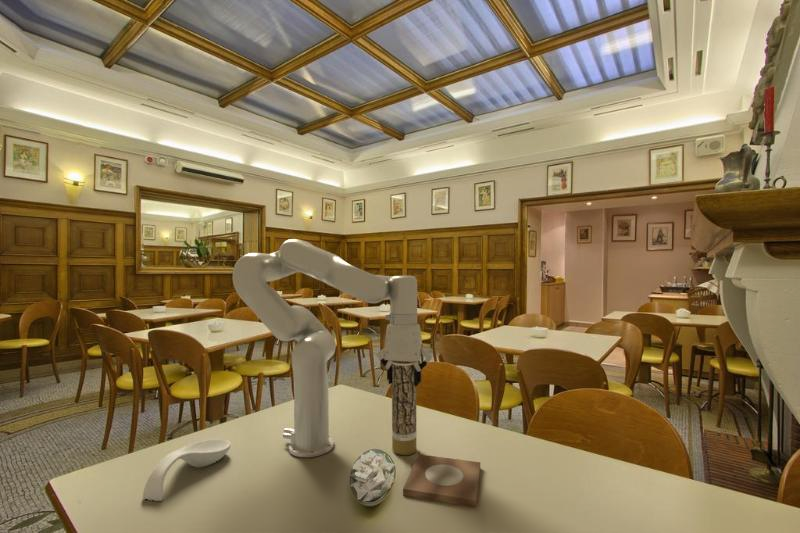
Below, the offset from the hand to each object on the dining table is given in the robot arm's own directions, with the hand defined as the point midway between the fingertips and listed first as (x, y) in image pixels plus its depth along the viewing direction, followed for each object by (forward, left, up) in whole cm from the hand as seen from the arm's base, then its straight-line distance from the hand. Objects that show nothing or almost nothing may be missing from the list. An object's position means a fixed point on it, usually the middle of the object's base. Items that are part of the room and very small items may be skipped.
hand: (404, 383), depth 103 cm
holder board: (+13, -12, -19) cm, 26 cm away
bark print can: (0, 0, -19) cm, 19 cm away
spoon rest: (-49, -25, -19) cm, 58 cm away
